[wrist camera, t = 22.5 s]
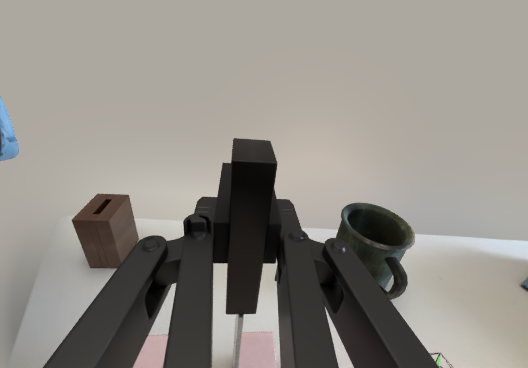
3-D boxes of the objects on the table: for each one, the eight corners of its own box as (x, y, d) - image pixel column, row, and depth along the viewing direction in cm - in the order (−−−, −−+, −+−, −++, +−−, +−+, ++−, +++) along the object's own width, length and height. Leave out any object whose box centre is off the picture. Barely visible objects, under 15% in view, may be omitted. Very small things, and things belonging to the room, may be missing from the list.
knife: (222, 406, 20) (231, 162, 9) (224, 366, 23) (233, 136, 11) (243, 405, 20) (278, 164, 9) (243, 365, 23) (270, 139, 12)
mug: (366, 250, 48) (387, 202, 42) (413, 321, 36) (452, 267, 30) (316, 251, 47) (331, 201, 41) (347, 325, 34) (375, 269, 28)
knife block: (90, 268, 38) (71, 220, 33) (110, 238, 44) (97, 193, 39) (122, 268, 39) (108, 220, 34) (138, 238, 45) (128, 194, 40)
